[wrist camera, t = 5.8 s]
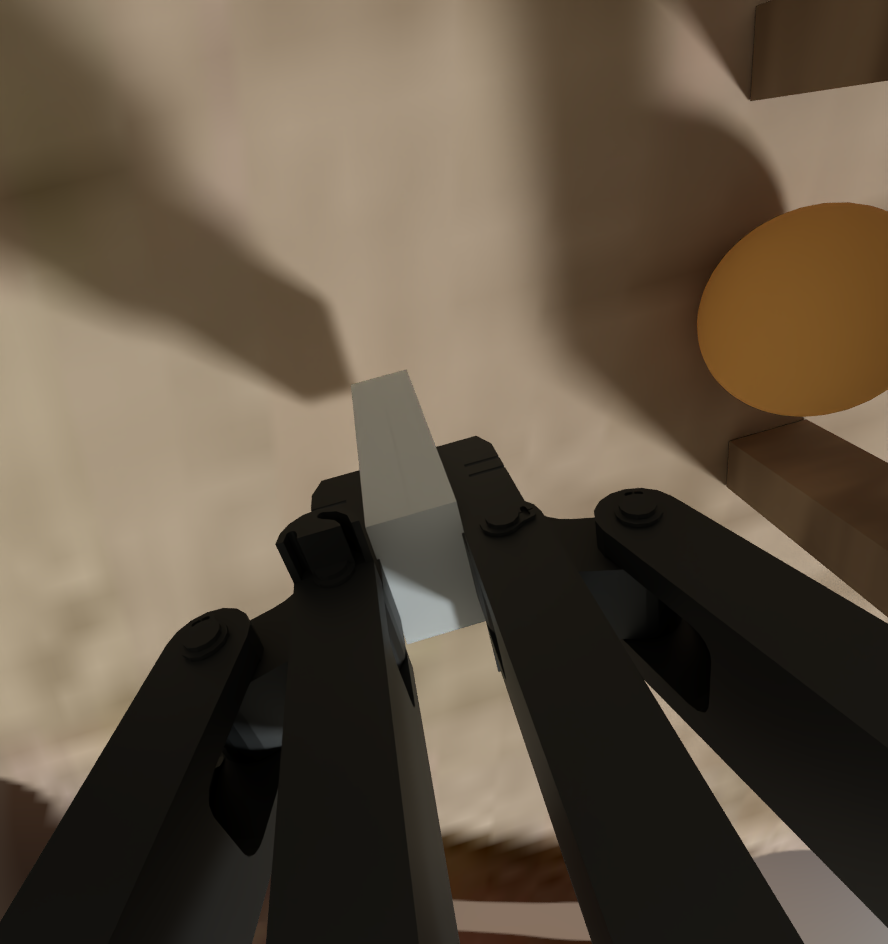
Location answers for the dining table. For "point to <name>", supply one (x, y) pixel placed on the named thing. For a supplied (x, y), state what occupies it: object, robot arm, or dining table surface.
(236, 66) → the dining table surface
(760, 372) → the ball
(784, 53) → the bridge
